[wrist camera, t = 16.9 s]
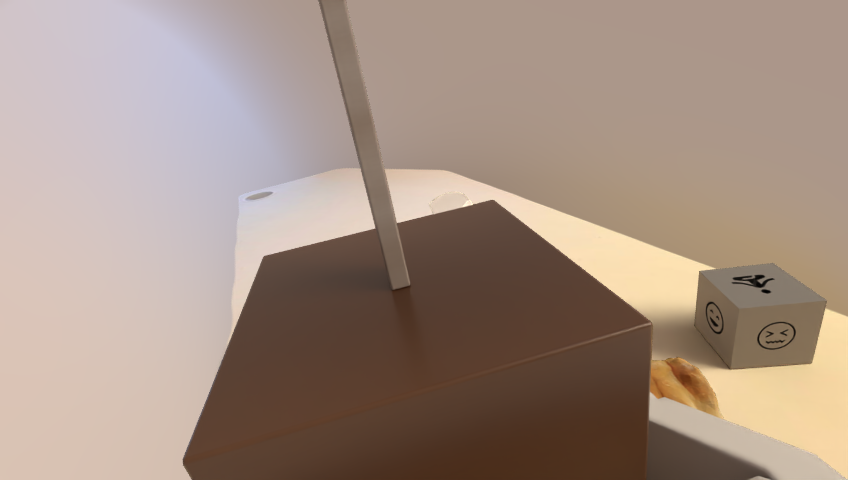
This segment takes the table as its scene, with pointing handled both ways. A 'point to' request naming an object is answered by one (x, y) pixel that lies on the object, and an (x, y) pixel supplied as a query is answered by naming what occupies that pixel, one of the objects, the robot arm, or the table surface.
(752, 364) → the dice cube
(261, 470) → the red ball lever
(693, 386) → the pastry
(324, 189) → the table surface
